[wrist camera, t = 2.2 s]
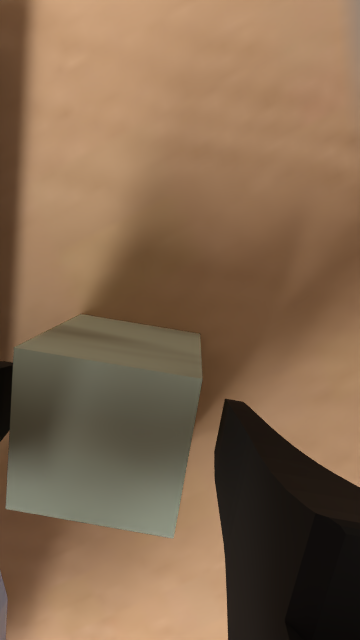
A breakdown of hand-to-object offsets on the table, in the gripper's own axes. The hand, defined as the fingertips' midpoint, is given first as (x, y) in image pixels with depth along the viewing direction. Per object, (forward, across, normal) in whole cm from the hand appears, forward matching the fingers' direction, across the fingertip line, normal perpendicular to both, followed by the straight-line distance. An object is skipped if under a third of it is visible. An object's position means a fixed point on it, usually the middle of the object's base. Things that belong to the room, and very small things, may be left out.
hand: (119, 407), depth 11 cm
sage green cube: (+3, 0, 0) cm, 3 cm away
